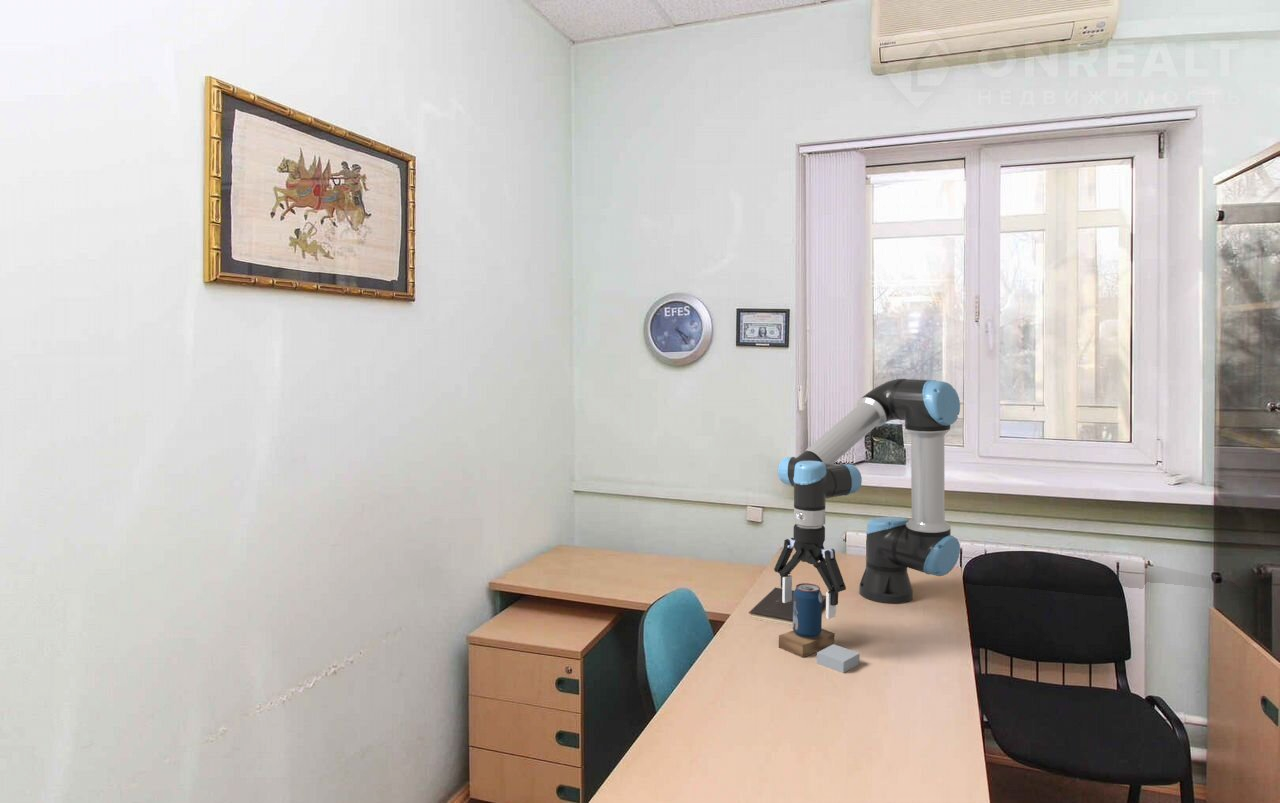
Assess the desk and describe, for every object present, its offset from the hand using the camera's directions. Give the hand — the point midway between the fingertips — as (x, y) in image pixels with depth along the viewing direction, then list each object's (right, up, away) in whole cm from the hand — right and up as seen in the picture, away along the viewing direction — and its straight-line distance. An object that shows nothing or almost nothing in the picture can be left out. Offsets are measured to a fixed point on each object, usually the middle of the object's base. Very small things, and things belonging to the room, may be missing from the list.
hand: (808, 609), depth 183 cm
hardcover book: (+1, -8, +25) cm, 27 cm away
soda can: (0, -6, 0) cm, 7 cm away
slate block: (+5, -11, -9) cm, 15 cm away
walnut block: (0, -9, +1) cm, 9 cm away
